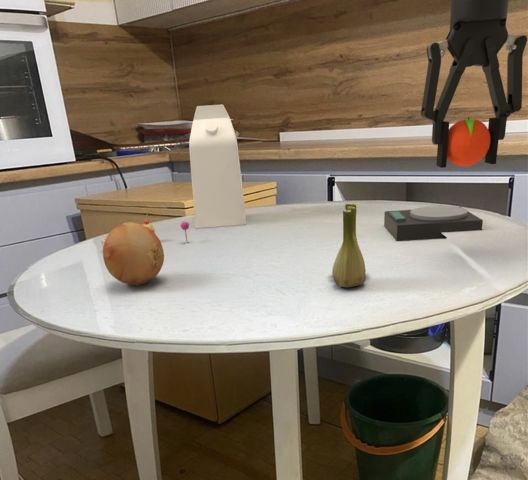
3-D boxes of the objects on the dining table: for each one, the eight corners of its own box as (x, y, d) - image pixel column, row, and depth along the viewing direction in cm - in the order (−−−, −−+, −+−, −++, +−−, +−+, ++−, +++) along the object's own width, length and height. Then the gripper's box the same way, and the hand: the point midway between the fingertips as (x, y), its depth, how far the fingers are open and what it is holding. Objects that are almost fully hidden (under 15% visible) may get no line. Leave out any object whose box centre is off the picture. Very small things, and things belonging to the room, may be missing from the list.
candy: (104, 255, 108) (98, 225, 105) (102, 247, 114) (96, 218, 112) (191, 242, 112) (188, 213, 110) (184, 235, 119) (180, 207, 117)
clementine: (493, 168, 79) (498, 116, 76) (444, 171, 81) (447, 120, 78) (484, 162, 86) (488, 114, 83) (439, 164, 88) (442, 117, 85)
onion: (152, 293, 83) (142, 229, 79) (97, 292, 86) (84, 230, 82) (178, 274, 92) (169, 216, 87) (126, 273, 94) (116, 216, 90)
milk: (245, 215, 136) (236, 103, 125) (245, 224, 126) (236, 103, 115) (199, 218, 136) (186, 107, 125) (195, 228, 126) (180, 107, 115)
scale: (459, 220, 114) (460, 202, 113) (481, 235, 102) (483, 215, 100) (384, 225, 115) (384, 207, 114) (396, 240, 103) (397, 221, 101)
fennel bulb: (351, 293, 77) (351, 209, 72) (323, 287, 80) (322, 206, 75) (373, 282, 81) (374, 202, 76) (346, 277, 84) (346, 199, 79)
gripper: (541, -11, 77) (519, 157, 87) (402, 1, 78) (397, 166, 87) (567, -21, 70) (540, 162, 80) (414, -8, 71) (407, 172, 81)
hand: (465, 164), depth 84 cm, fingers closed on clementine, 7 cm apart
